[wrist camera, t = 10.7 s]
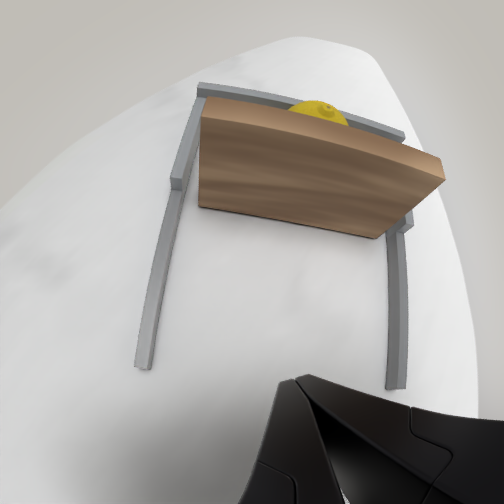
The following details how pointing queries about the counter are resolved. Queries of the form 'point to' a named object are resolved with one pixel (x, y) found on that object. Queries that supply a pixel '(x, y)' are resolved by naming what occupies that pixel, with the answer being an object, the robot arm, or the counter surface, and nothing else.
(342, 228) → the board
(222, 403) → the counter surface
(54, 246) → the counter surface
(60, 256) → the counter surface
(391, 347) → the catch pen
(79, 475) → the counter surface
